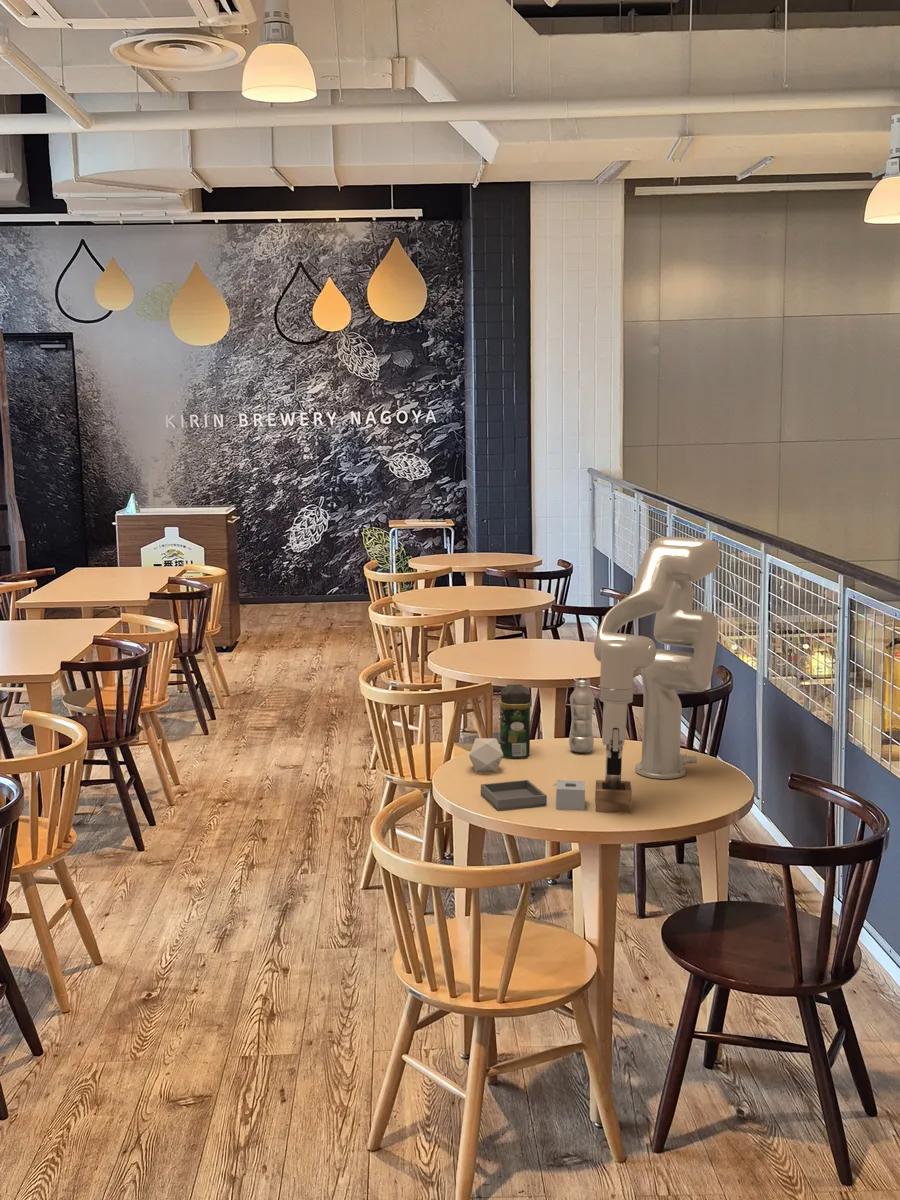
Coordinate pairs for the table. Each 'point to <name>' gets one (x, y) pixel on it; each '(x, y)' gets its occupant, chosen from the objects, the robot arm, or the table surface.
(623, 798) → the block
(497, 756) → the die
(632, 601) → the robot arm
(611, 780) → the spice jar
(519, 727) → the coffee jar
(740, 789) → the table surface
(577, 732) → the plastic bottle
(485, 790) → the tray
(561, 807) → the small block
